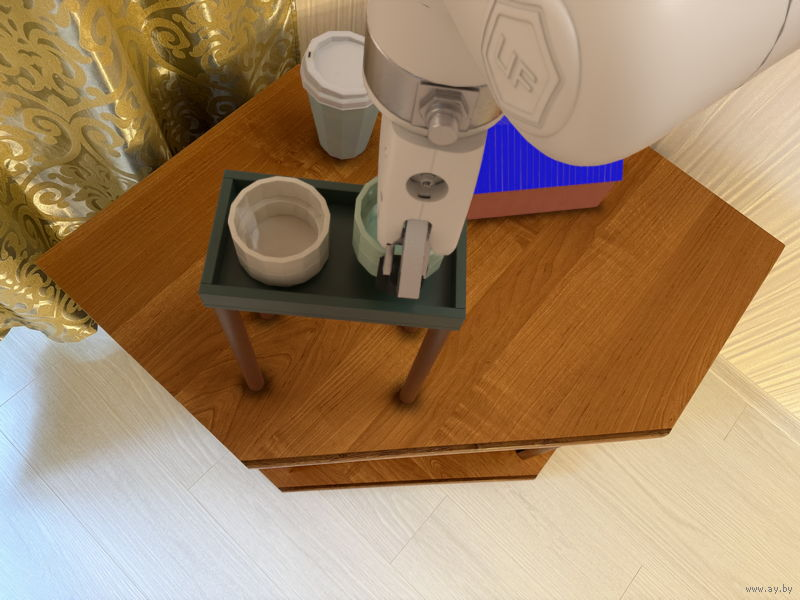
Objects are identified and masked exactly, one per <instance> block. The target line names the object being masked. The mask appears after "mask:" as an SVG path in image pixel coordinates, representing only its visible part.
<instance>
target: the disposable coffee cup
mask: <svg viewBox="0 0 800 600" xmlns="http://www.w3.org/2000/svg"><path fill="white" fill-rule="evenodd" d="M364 40H365V36H363V35H361V34H359V33H356V32H354V31H351V30H327V31H326V32H324V33H322V34H320V35H317V36H315V37H314V38H312V39H311V40H310V42H309V44H308V46H307V48H306V49H305V52H304V55H303V56H302V58H301V63H300V69H299V74H300V79H301V82H302V88H303V89H304V90H305V91H306V92H307V96H308V100H309V105H310V109H311V112H312V115H313V116H312V117H313V120H314V125H315V129H316V133H317V136H318V137H317V138H318V140H319V144H320V147H322V148H323V150H324V151H325V152H326V153H328V155H329V156H331V157H333V158H336V159H338V160H348V159H349V160H350V159H354V158H356V157H358V156H359V155H361V154H362V153H363V152H364V151H366V148H367V146H368V144H369V141H370V138H371V135H372V132H373V130H374V127H375V123H376V121H377V119H378V114H379V112H380V111H379V110H378V108H377V107H376V106H375V105H374V104H373V102H372V101H371V99H370V97H369V96H368V94H367V91H366V89H365V86H364V82H363V76H362V66H363V53H364Z"/></svg>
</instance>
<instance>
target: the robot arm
mask: <svg viewBox="0 0 800 600" xmlns="http://www.w3.org/2000/svg"><path fill="white" fill-rule="evenodd" d="M364 28H365V30H364V37H365V40H364V53H363V66H362V76H363V82H364V86H365V89H366V91H367V94H368V96H369V97H370V99H371V101H372V102H373V104H374V105H375V106H376V107H377V108H378V110H379V112H380V113H381V121H380V130H379V131H380V133H379V148H378V163H377V176H378V195H377V240H378V241H379V243H380V244H381V245H382V246H383V247H384V248H385V255H384V256H382V257H380V260H379V265H378V271H377V276H376V283H375V288H376V289H378V290H387V293H388V294H390V295H394V296H397V297H400V298H410V299H418V298H419V294H420V291H421V288H422V285H423V282H424V279H425V277H426V274H427V271H428V262H429V257H430V252H431V248H432V250H433V252H434V254H435V255H449V254H451V253H452V252H453V251H454V250H455V248H456V246H457V243H458V240H459V237H460V234H461V231H462V228H463V225H464V222H465V219H466V216H467V213H468V210H469V207H470V203H471V200H472V197H473V193H474V190H475V186H476V182H477V179H478V175H479V171H480V167H481V162H482V158H483V153H484V148H485V142H486V137H487V131H488V129H489V128H491V127H492V126H494V125H495V124H496V123H497V122H498V121H499V120H501V119H502V117H503V116H504V115H505V116H506V117H507V118H508V120H509V121H510V122H511V123H512V125H513V126H514V127H515V128H516V129H517V130H518V132H519V133H520V134H521V135H522V136H523V137H524V138H525V139H526V141H528V142H529V143H530V144H531V145H533V146H534V147H535V148H536V149H538V150H539V151H540V152H542V153H543V154H545V155H546V156H548V157H550V158H552V159H554V160H556V161H559V162H562V163H566V164H569V165H574V166H599V165H604V164H609V163H612V162H615V161H618V160H621V159H623V160H624V159H626V158H629V157H631V156H632V155H635V154H636V153H638V152H641V151H643V150H644V149H646V148H648V147H650V146H651V145H653V144H655V143H656V142H658V141H660V140H661V139H663V138H664V137H666V136H667V135H669V134H670V133H672V132H674V131H675V130H677V129H678V128H679V127H681V126H682V125H684V124H685V123H687V122H689V121H690V120H692V119H693V118H695V117H696V116H698V115H699V114H701V113H702V112H704V111H706V110H707V109H709V108H711V107H712V106H713V105H714V104H716V103H718V102H719V101H721V100H722V99H723V98H725V97H727V96H728V95H730V94H731V93H733V92H734V91H736V90H737V89H739V88H741V87H743V86H744V85H746V84H747V83H748V82H751V80H753V79H754V78H757V76H759V75H761V74H762V73H763V72H765V71H766V70H768V69H769V68H771V67H772V66H774V65H776V64H778V63H779V62H781V61H782V60H784V59H785V58H787V57H789V56H790V55H791V54H793V53H795V52H797V51H798V50H800V0H367V3H366V14H365V26H364ZM404 224H405V228H403V225H404ZM395 245H403V246H402V254H401V255H395V254H394V251H395Z"/></svg>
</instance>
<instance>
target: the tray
mask: <svg viewBox="0 0 800 600" xmlns="http://www.w3.org/2000/svg"><path fill="white" fill-rule="evenodd" d="M275 176H281V177H290V178H297V179H299V180H301V181H303V182H305V183H307V184H309V185H311V186H313V187H314V188H315V189H316V190H317V191H318V192H319V193H320V194H321V195H322V197H323V198H324V199H325V201H326V203H327V206H328V209H329V212H330V248H329V257H328V259H327V261H326V262H325V264H324V265H323V267H322V269H321V270H320V271H319V273H317V274H316V275H314V276H313V277H312V278H310V279H309V280H307V281H306V282H304V283H301V284H297V285H293V286H289V287H281V286H271V285H266V284H264V283H262V282H260V281H258V280H256V279H254V278H252V277H251V276H250V275H249V274H248V273H247V272H246V270H245V269H244V268H243V267H242V266H241V264H240V262H239V259H238V256H237V252H236V249H235V245H234V242H233V239H232V235H231V231H230V228H229V224H228V218H229V213H230V208H231V205H232V203H233V201H234V200H235V199H236V197H237V196H238V195H239V193H240V192H241V191H242V190H243V189H244V188H246V187H248V186H249V185H251V184H252V183H254V182H256V181H257V180H261V179H265V178H270V177H275ZM364 186H365V184H360V183H349V182H341V181H334V180H333V181H332V180H323V179H317V178H316V179H315V178H306V177H299V176H298V177H297V176H288V175H280V174H271V173H261V172H252V171H244V170H235V169H226V168H225V169H224V171H223V176H222V179H221V184H220V189H219V194H218V199H217V204H216V207H215V212H214V217H213V222H212V226H211V231H210V236H209V241H208V245H207V249H206V254H205V260H204V263H203V269H202V272H201V277H200V281H199V282H200V283H199V286H198V291H197V293H198V296H199V298H200V300H201V302H202V305H203V306H204V308H207V309H213V312H214V314H215V316H216V318H217V321H218V322H219V324H220V327H221V329H222V332H223V334H224V337H225V338H226V340H227V342H228V345H229V347H230V350H231V351H232V353H233V356H234V358H235V360H236V363H237V365H238V367H239V370H240V371H241V374H242V376H243V378H244V381H245V383H246V385H247V387H248V389H249V390H251V391H252V392H258V391H262V390H263V388H264V386H265V379H264V376H263V374H262V371H261V368H260V365H259V362H258V359H257V357H256V354H255V351H254V348H253V346H252V342H251V339H250V337H249V333H248V331H247V328H246V324H245V322H244V319H243V316H242V313H241V312H248V313H249V312H250V313H259V316H260V318H262V319H263V320H271V319H273V318H274V317H275V315H280V316H292V317H301V318H302V317H303V318H314V319H324V320H336V321H345V322H355V323H356V322H357V323H367V324H375V325H376V324H377V325H387V326H388V325H389V326H399V327H400V326H401V327H403V329H404V331H405V332H407V333H408V334H409V333H410V334H413V333H416V332H417V331H418V329H419V328H420V329H427V330H426V333H425V335H424V337H423V338H422V342H421V343H420V347H419V348H418V351H417V352H416V355H415V358H414V359H413V362H412V364H411V366H410V369H409V371H408V373H407V376H406V378H405V381H404V382H403V385H402V387H401V390H400V392H399V400H400V401H401V402H402V403H403V404H405V405H410V404H412V403H414V401H415V400H416V397H417V396H418V394H419V392H420V390H421V388H422V387H423V385H424V383H425V381H426V379H427V377H428V375H429V374H430V372H431V370H432V368H433V367H434V365H435V363H436V361H437V360H438V357H439V356H440V354H441V352H442V350H443V348H444V346H445V344H446V343H447V341H448V339H449V337H450V335H451V334H452V332H459V331H460V329H461V328H462V326H463V324H464V323H465V321H466V318H467V310H466V309H467V264H468V263H467V262H468V261H467V256H468V254H467V253H468V251H467V250H468V249H467V247H468V220H467V216H466V219H465V222H464V225H463V228H462V231H461V234H460V237H459V240H458V243H457V246H456V248H455V250H454V251H453V252H452V253H451V254H449V255H446V256H445V258H444V259H443V261H442V263H441V265H440V267H439V268H438V270H436V271H435V272H434V273H432V274H431V275H430V276H429V277H427V278H426V279H424V282H423V285H422V288H421V291H420V294H419V298H418V299H410V298H400V297H397V296H394V295H390V294H388V293H387V290H378V289H376V288H375V283H376V276H373V275H371V274H370V273H369V272H368V271H367V270H366V269H365V268H364V267H363V265H362V264H361V263H360V262H359V261H358V259H357V256H356V254H355V251H354V248H353V245H352V240H353V228H354V216H355V206H356V199H357V197H358V195H359V194H360V192H361V190H362V189H363V187H364Z"/></svg>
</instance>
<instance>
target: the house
mask: <svg viewBox="0 0 800 600" xmlns="http://www.w3.org/2000/svg"><path fill="white" fill-rule="evenodd" d="M623 172H624V159H621V160H618V161H615V162H612V163H609V164H604V165H599V166H574V165H569V164H566V163H562V162H559V161H556V160H554V159H552V158H550V157H548V156H546V155H545V154H543V153H542V152H540V151H539V150H538V149H536V148H535V147H534V146H533V145H531V144H530V143H529V142H528V141H526V139H525V138H524V137H523V136H522V135H521V134H520V133H519V132H518V130H517V129H516V128H515V127H514V126H513V125H512V123H511V122H510V121H509V120H508V118H507V117H506V116H505V115H504V116H503V117H502V119H501V120H499V121H498V122H497V123H496V124H495V125H494V126H492V127H491V128H489V129H488V131H487V137H486V142H485V148H484V153H483V158H482V162H481V167H480V171H479V175H478V179H477V182H476V186H475V190H474V193H473V197H472V200H471V203H470V207H469V210H468V213H467V221H470V220H480V219H488V218H499V217H509V216H519V215H520V216H521V215H528V214H538V213H549V212H550V213H551V212H559V211H569V210H579V209H589V208H597V207H599V205H600V204H601V202H602V201H603V200H604V199H605V198H606V196H607V195H608V194H609V192H610V191H611V190H612V189H613V188H614V186H615V184H616V183H617V182H620V181H621V182H623Z"/></svg>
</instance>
